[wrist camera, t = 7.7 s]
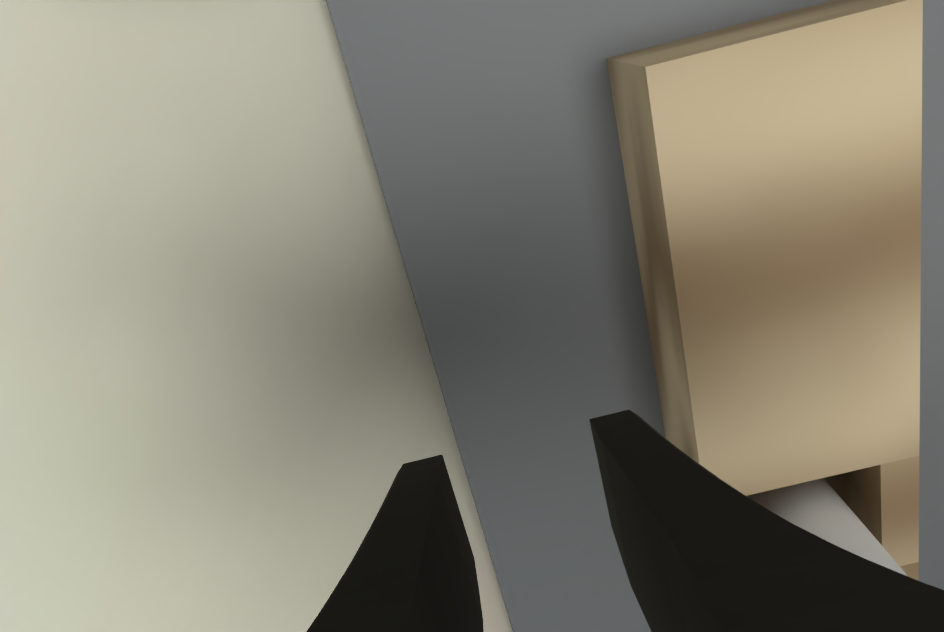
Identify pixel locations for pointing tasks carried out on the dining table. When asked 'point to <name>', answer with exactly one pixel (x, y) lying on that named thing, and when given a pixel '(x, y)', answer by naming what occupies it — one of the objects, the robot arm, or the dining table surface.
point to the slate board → (570, 271)
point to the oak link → (786, 249)
